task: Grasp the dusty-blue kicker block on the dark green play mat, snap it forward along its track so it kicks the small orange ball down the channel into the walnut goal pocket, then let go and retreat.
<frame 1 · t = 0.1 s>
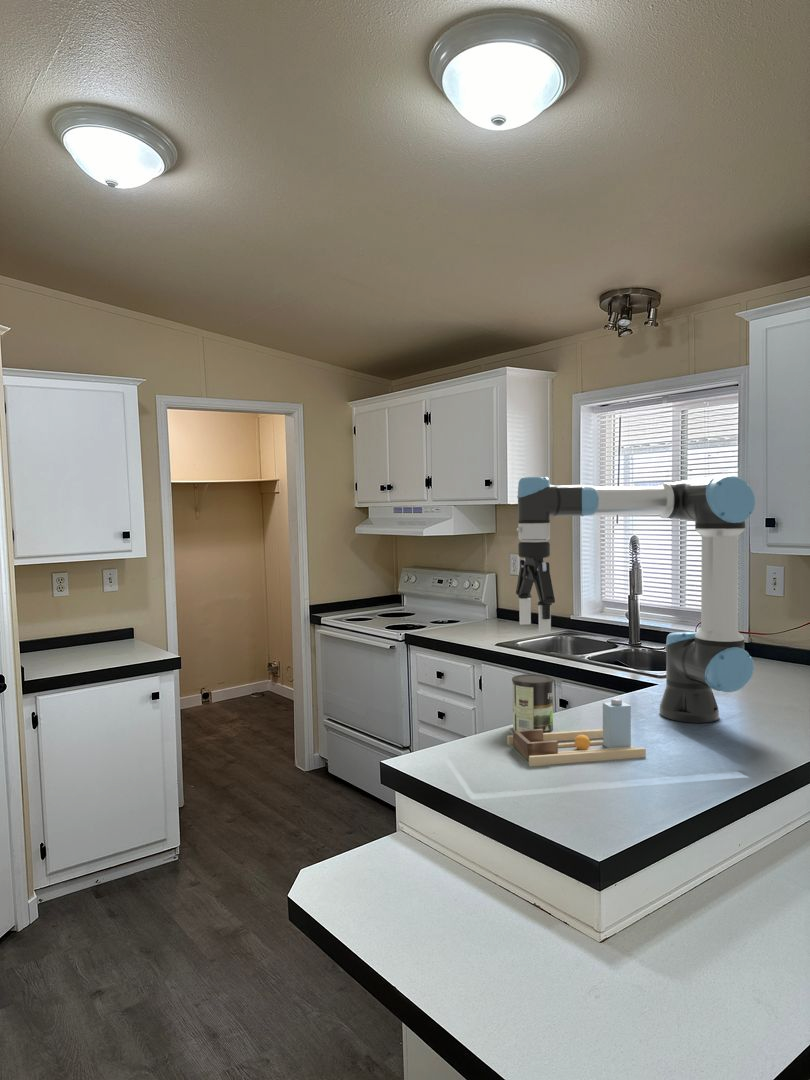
hand: (534, 628, 176), 28 cm above the counter, fingers open, 13 cm apart
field: (574, 754, 168), on the counter
goal: (535, 753, 166), resting on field
kicker: (616, 723, 169), point 7 cm above the counter, slide at 0.0 cm
ball: (582, 742, 168), point 3 cm above the counter, touching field
coffee can: (532, 733, 185), on the counter
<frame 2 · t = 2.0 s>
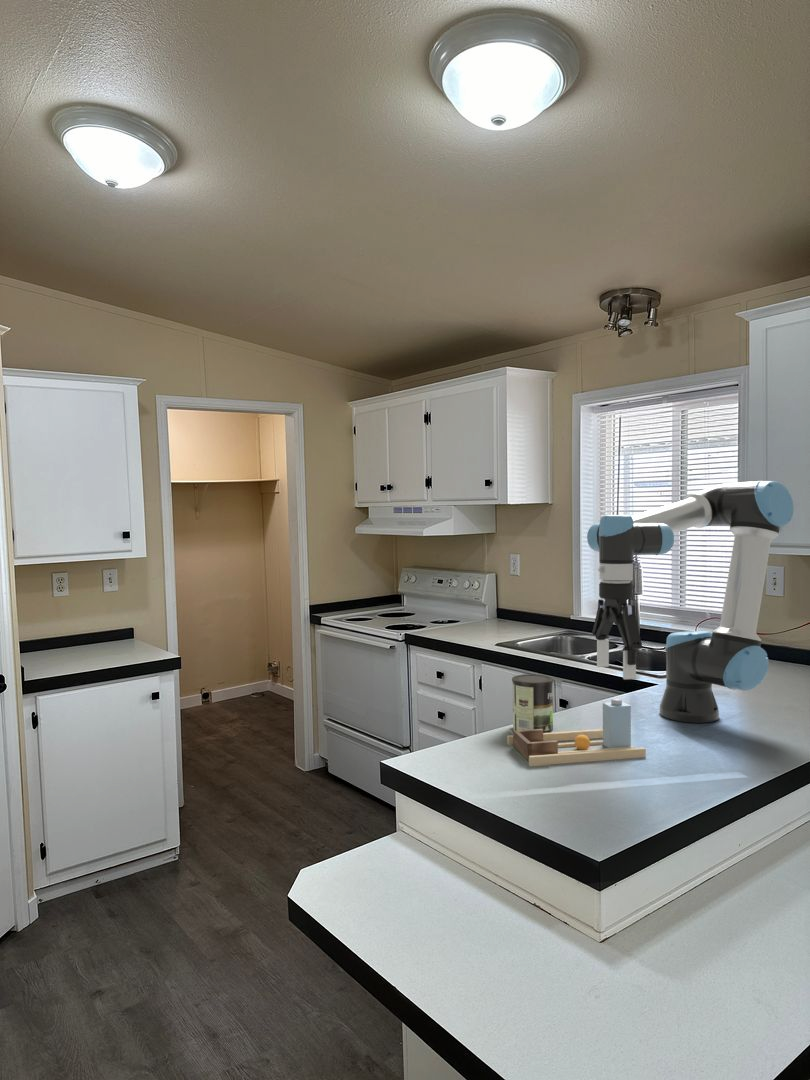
hand: (615, 672, 169), 19 cm above the counter, fingers open, 13 cm apart
nothing on the counter moved.
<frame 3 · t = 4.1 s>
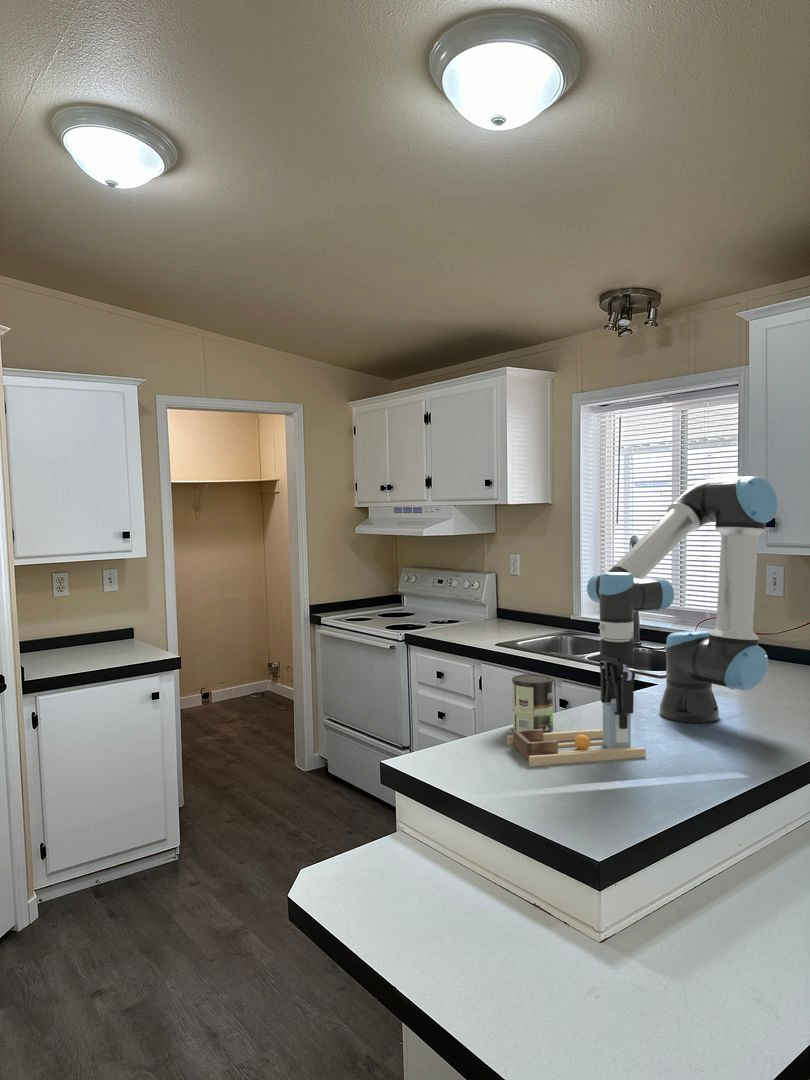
hand: (616, 738, 170), 3 cm above the counter, fingers closed on kicker, 4 cm apart
kicker: (616, 723, 169), point 7 cm above the counter, slide at 0.0 cm, touching gripper
everything else where it was.
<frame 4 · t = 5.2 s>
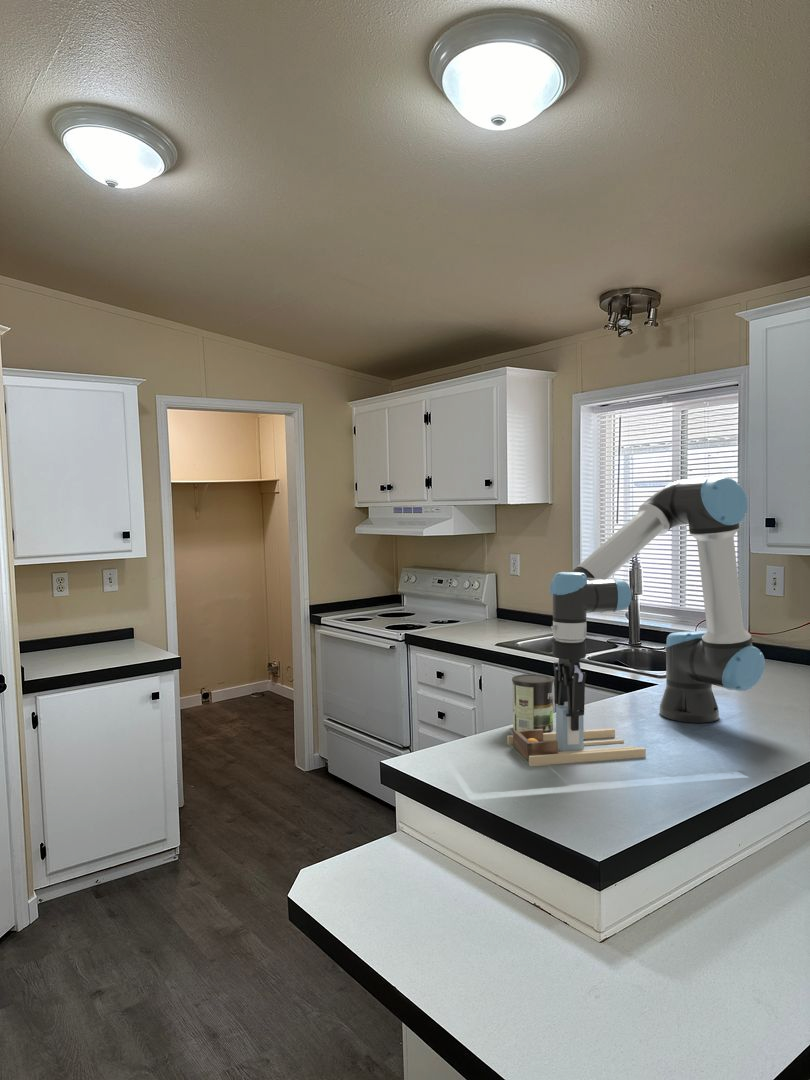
hand: (568, 740, 168), 3 cm above the counter, fingers closed on kicker, 4 cm apart
kicker: (569, 726, 167), point 7 cm above the counter, slide at 11.6 cm, touching gripper
ball: (532, 746, 166), point 3 cm above the counter, tilted 38°, touching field
everything else where it was.
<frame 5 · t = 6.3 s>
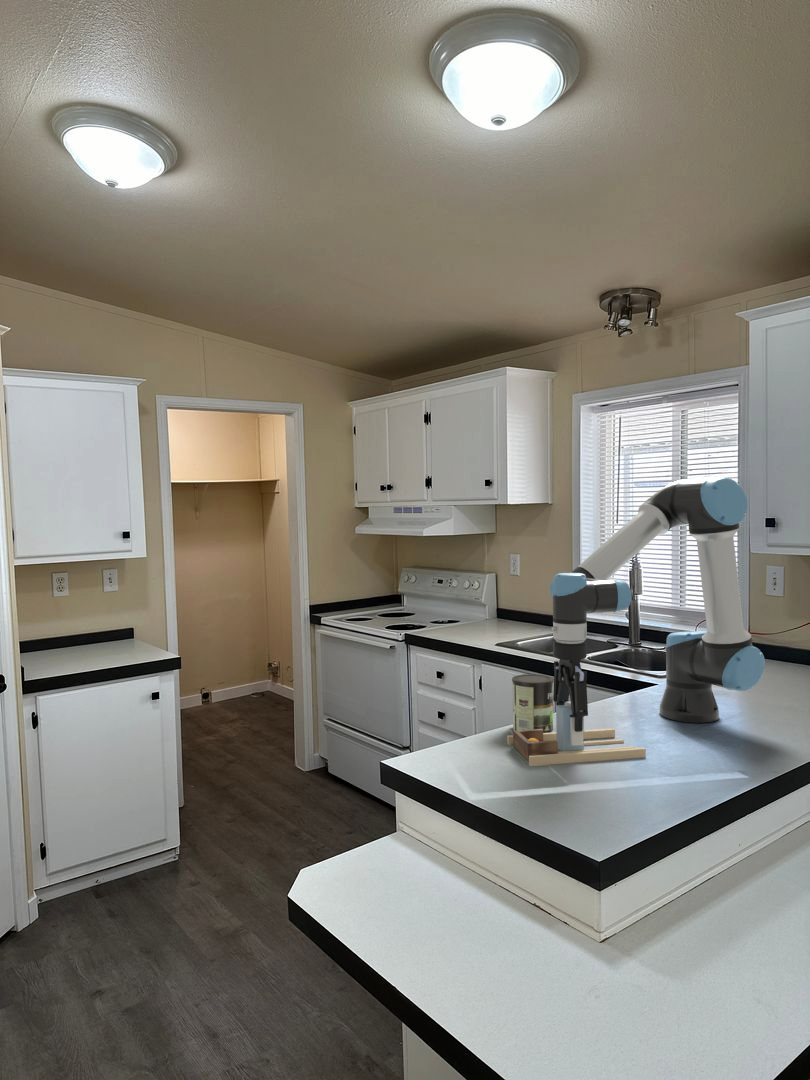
hand: (570, 739, 168), 4 cm above the counter, fingers open, 7 cm apart
kicker: (569, 726, 167), point 7 cm above the counter, slide at 11.5 cm
ball: (532, 745, 166), point 3 cm above the counter, tilted 45°, touching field
everything else where it was.
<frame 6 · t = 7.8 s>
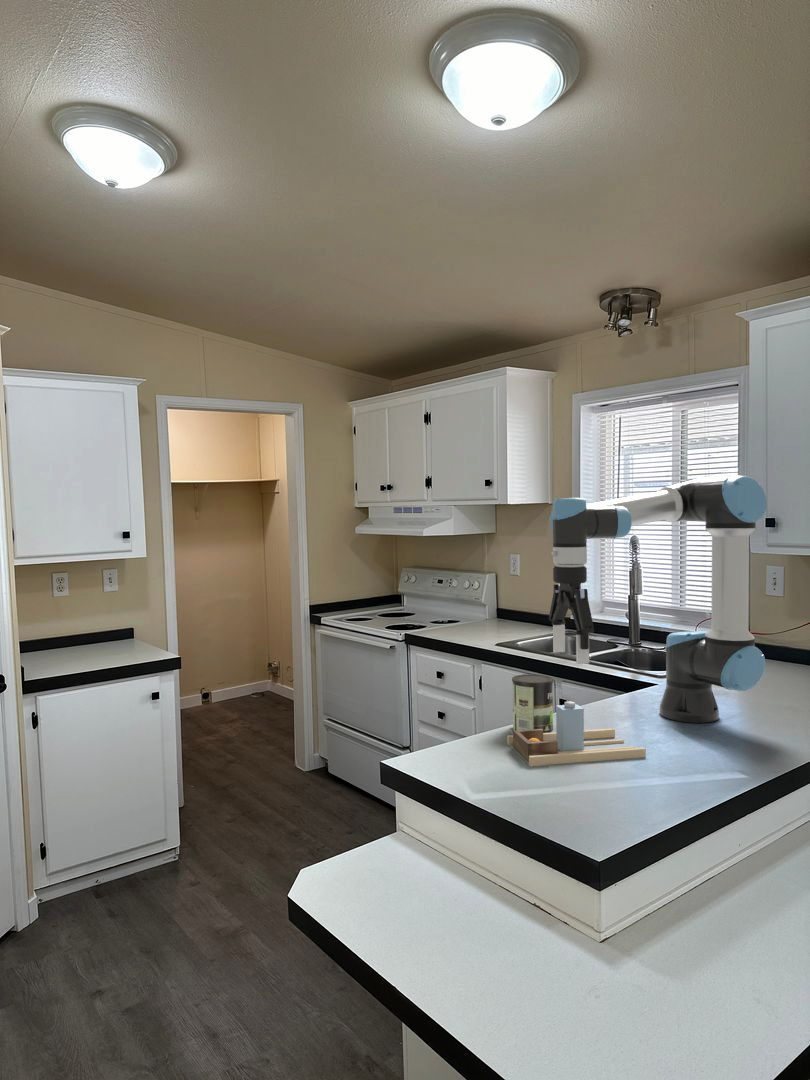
hand: (570, 657, 167), 23 cm above the counter, fingers open, 13 cm apart
ball: (534, 745, 166), point 3 cm above the counter, tilted 53°, touching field
everything else where it was.
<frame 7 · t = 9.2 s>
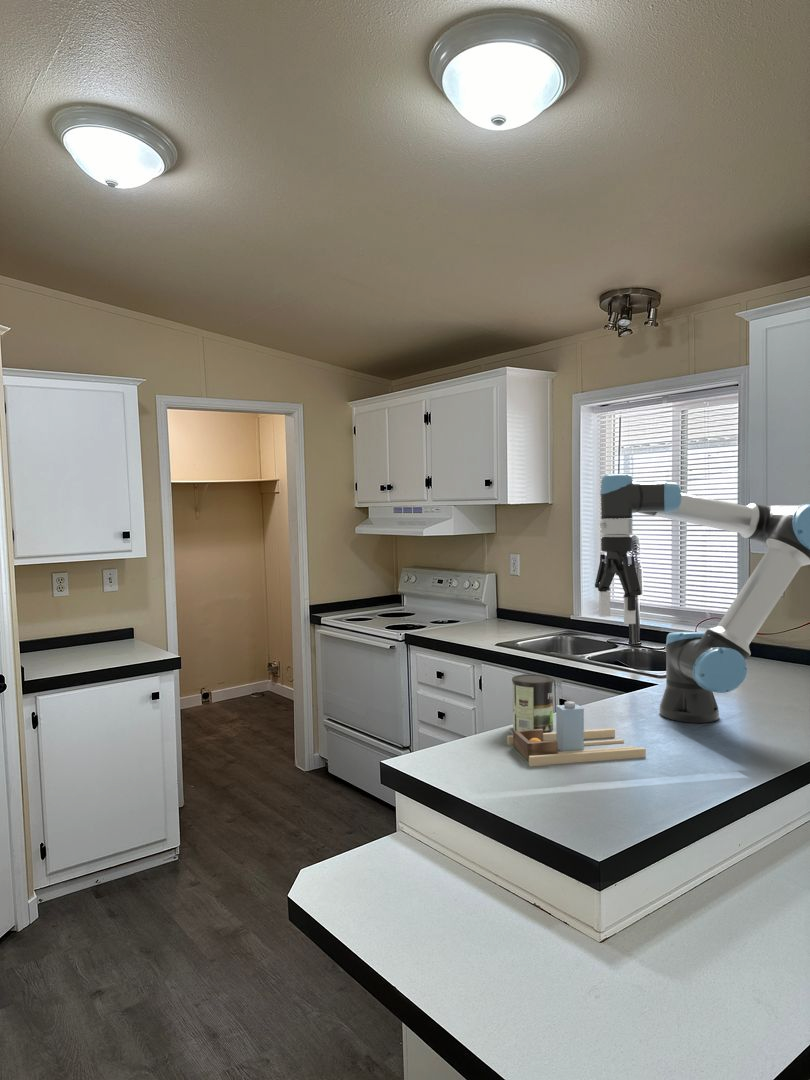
hand: (616, 620, 184), 29 cm above the counter, fingers open, 13 cm apart
ball: (535, 745, 166), point 3 cm above the counter, tilted 61°, touching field
everything else where it was.
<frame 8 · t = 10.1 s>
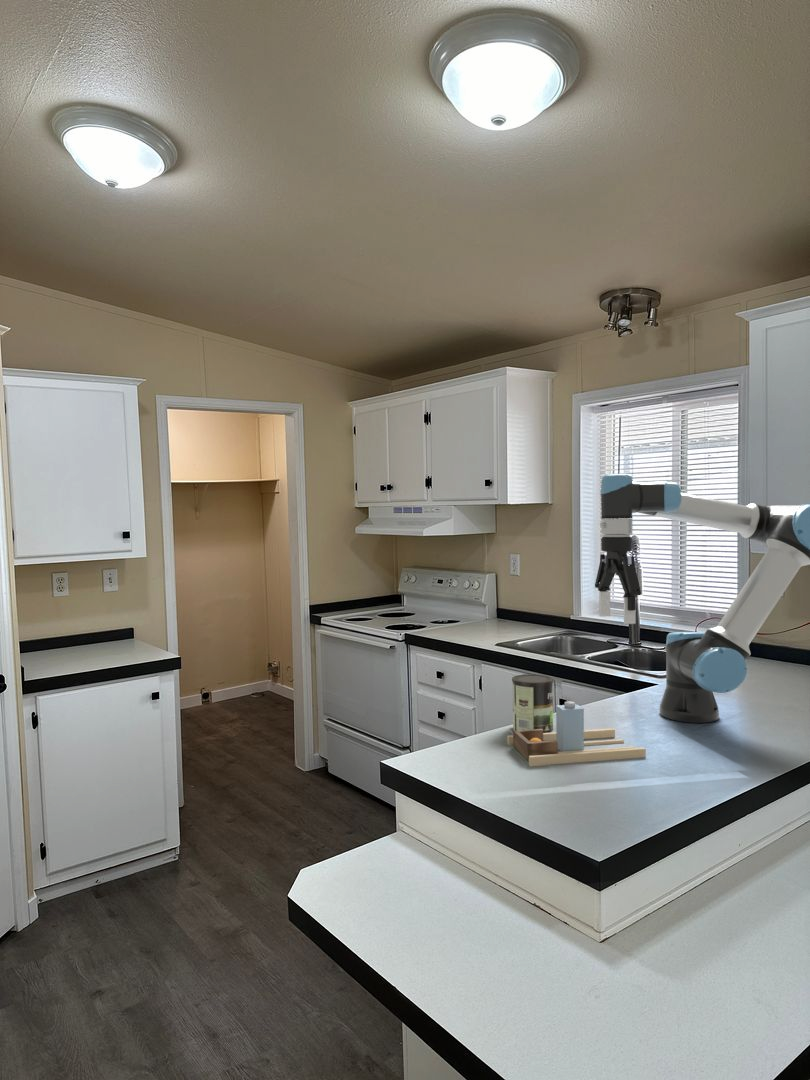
hand: (616, 619, 184), 29 cm above the counter, fingers open, 13 cm apart
ball: (535, 745, 166), point 3 cm above the counter, tilted 67°, touching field
everything else where it was.
at the end: ball inside the target area on the goal (0.8 cm from its centre), point 1.7 cm above the goal's base; kicker slide at 11.5 cm; the gripper is holding nothing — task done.
